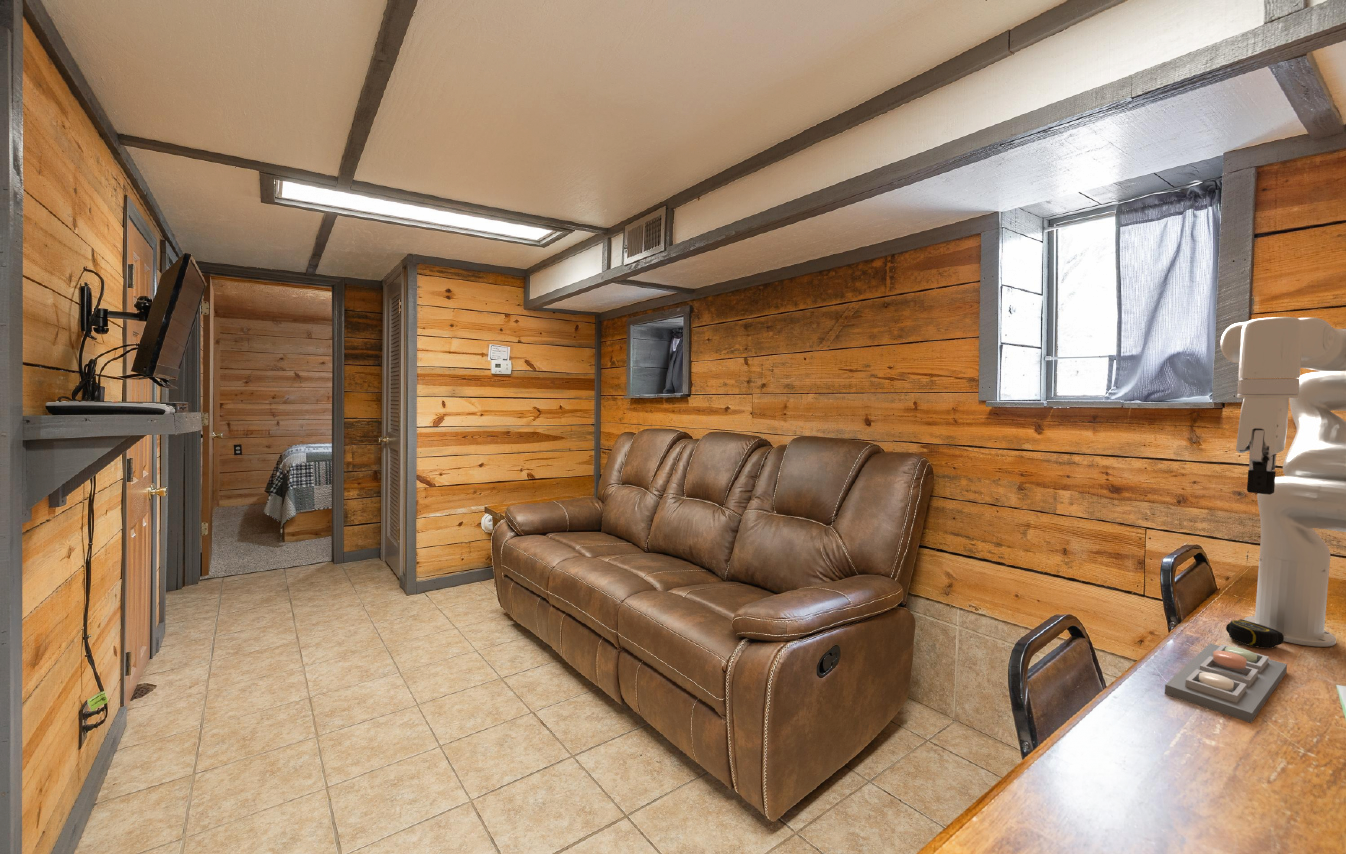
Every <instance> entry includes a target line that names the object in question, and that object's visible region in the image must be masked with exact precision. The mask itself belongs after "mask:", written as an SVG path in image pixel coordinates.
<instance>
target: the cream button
mask: <svg viewBox="0 0 1346 854" xmlns="http://www.w3.org/2000/svg"><path fill="white" fill-rule="evenodd" d="M1199 682H1200V683H1203V684H1206V685H1209V686H1212V687H1215V688H1219V689H1222V690H1225V691H1228V692H1232V691H1233V685H1234V682H1233V681H1232V680H1231V679H1229V678H1227V677H1224V676H1222V675H1218V674H1214V673H1208V672H1202V673H1199Z"/></svg>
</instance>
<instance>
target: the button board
mask: <svg viewBox="0 0 1346 854" xmlns="http://www.w3.org/2000/svg"><path fill="white" fill-rule="evenodd" d="M1226 647H1232V646H1229V645H1227V644H1223V643H1221V645H1218V644H1215V643H1211V642H1210V643H1209V644H1207V645H1206V646H1205V647H1204V648H1203V649H1201V651H1200V652H1198V654H1197V655H1196V656H1194V657H1193V659H1191V660H1190V661H1189V662H1188V663H1187V664H1185V666H1184V667H1183V668H1182V669H1180V670H1179V671H1178V672H1177V673H1176V674H1175V675H1174V676H1173V677H1172V678H1171V679H1170V680H1169V681H1168V682H1166V683H1165V685H1164V695H1168V696H1171V697H1174V698H1176V699H1179V700H1182V701H1185V702H1189V703H1190V704H1191V703H1192V704H1193V705H1197V706H1199V707H1203V708H1206V709H1208V710H1212V711H1215V712H1218V713H1220V714H1223V715H1227V716H1229V717H1233V718H1236V719H1238V720H1242V721H1244V722H1246V723H1249V724H1252V723H1253V721H1254V720H1255V718H1256V717H1257V715H1259V713H1260V712H1261V709H1262V708H1263V707H1264V705H1265V704H1266V703H1267V701H1269V698H1270V697H1271V695H1272V694H1273V693H1274V691H1275V690H1276V688H1277V687H1278V686H1279V684H1280V682H1282V680H1283V678H1284V676H1286V674H1287V671H1288V664H1287V663H1284V662H1281V661H1277V660H1273V659H1270V658H1269V656H1268V655H1263V654H1260V653H1255V652H1254V653H1255V654H1256V655H1257V663H1256V664H1255V663H1251V662H1248V661H1246V668H1245V669H1236V668H1230V667H1227V666H1223V665H1221V664H1218V663H1216V662H1215V661H1214V660H1213V652H1214V651H1225V648H1226ZM1202 672H1208V673H1214V674H1218V675H1222V676H1224V677H1227V678H1229V679H1231V680H1232V681H1233V682H1234V685H1233V691H1232V692H1228V691H1225V690H1222V689H1219V688H1215V687H1212V686H1209V685H1206V684H1203V683H1200V682H1199V673H1202Z"/></svg>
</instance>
